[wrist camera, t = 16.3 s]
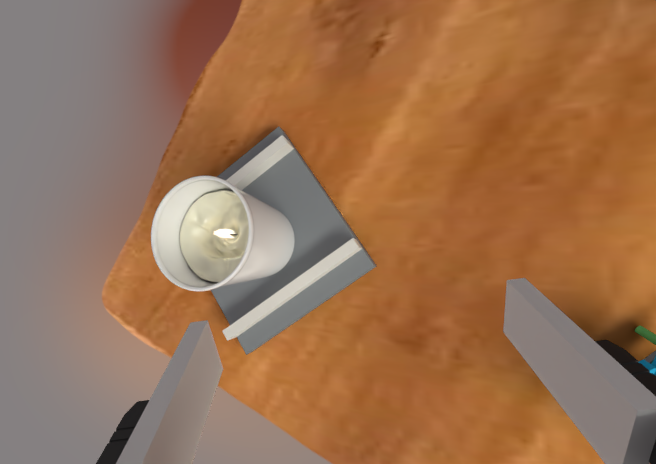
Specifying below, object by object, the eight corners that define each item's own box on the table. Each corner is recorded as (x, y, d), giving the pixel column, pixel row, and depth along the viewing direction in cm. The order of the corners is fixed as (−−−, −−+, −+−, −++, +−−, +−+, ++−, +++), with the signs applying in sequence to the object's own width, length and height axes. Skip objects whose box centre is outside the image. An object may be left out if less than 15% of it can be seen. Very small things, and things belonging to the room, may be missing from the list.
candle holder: (255, 184, 42) (191, 153, 30) (318, 231, 39) (274, 217, 28) (210, 250, 43) (131, 245, 31) (269, 301, 40) (206, 316, 29)
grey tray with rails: (177, 216, 46) (158, 213, 43) (283, 131, 43) (271, 119, 40) (252, 351, 42) (237, 359, 38) (376, 266, 39) (371, 266, 35)
